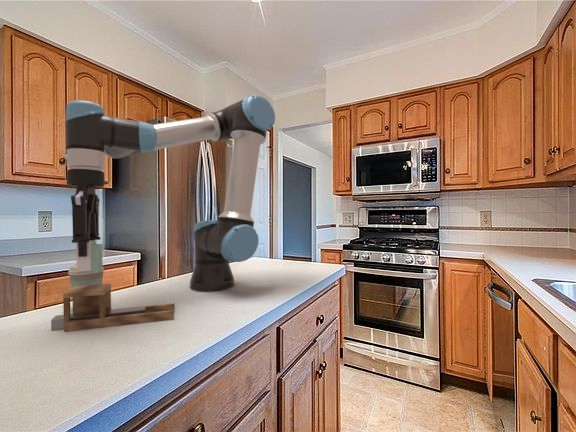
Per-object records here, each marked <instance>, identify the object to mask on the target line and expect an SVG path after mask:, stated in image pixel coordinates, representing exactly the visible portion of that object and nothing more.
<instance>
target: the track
mask: <svg viewBox="0 0 576 432" xmlns="http://www.w3.org/2000/svg"><path fill="white" fill-rule="evenodd" d="M111 285H112V283H104V284H103V283H102V284H101V285H87V286H74V287H72V288H71V287H70V288H69V289H68V290H66V291H65V292H63V293H62V296H63V297H62V299H63V302H62V305H63V308H62V309H63V315H64V329H63V332H74V331H80V330H89V329H101V328H108V327H118V326H126V325H135V324H144V323H154V322H162V321H171V320H174V319H175V310H176V307H175V306H176V305H175V303H163V304H154V305H145V306H146V313H140V314H131V315H121V316H111V317H106V310H113V309H112V286H111ZM71 298H72V314H76V313H85V312H95V311H100V318H92V319H82V320H73V321H71V316H70V314H71ZM123 308H124V307H123ZM123 308H120V309H123Z"/></svg>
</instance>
